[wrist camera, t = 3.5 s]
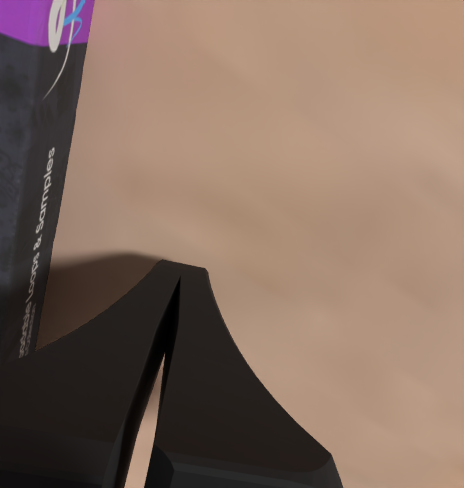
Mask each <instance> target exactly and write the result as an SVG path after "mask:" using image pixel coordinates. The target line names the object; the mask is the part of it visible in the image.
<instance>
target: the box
mask: <svg viewBox="0 0 464 488" xmlns="http://www.w3.org/2000/svg"><path fill="white" fill-rule="evenodd" d="M94 1H95V0H0V365H3V364H5V363H8V362H10V361H13V360H15V359H18V358H20V357H23V356H25V355H27V354H30V353H32V352H34V351H35V347H36V341H37V336H38V330H39V324H40V318H41V312H42V306H43V301H44V295H45V290H46V284H47V279H48V273H49V268H50V261H51V255H52V248H53V241H54V238H55V233H56V227H57V223H58V218H59V212H60V206H61V200H62V195H63V189H64V183H65V176H66V170H67V164H68V157H69V152H70V147H71V141H72V135H73V130H74V124H75V117H76V108H77V104H78V98H79V93H80V87H81V80H82V72H83V65H84V59H85V54H86V48H87V43H88V37H89V31H90V25H91V19H92V13H93V7H94Z"/></svg>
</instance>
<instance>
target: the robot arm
mask: <svg viewBox="0 0 464 488" xmlns="http://www.w3.org/2000/svg"><path fill="white" fill-rule="evenodd" d="M164 354H165V359H164V367H163V375H162V384H161V392H160V401H159V409H158V418H157V425H156V432H155V438H154V443H153V448H152V453H151V458H150V462H149V467H148V472H147V477H146V481H145V486H144V488H343V485H342V482H341V479H340V477H339V474H338V471H337V468H336V465H335V463H334V460H333V457H332V455H331V453H329V452H328V451H327V450H326V449H325V448H324V447H323V446H322V445H321V444H320V443H319V442H317V441H316V440H315V439H314V438H313V437H312V436H311V435H310V434H309V433H308V432H306V431H305V430H304V429H303V428H302V427H301V426H300V425H299V424H298V423H297V422H296V421H295V420H294V419H293V418H292V417H291V416H290V415H289V414H288V413H287V412H286V411H285V410H284V409H283V408H282V407H281V405H280V404H279V403H278V402H277V401H276V400H275V399H274V398H273V396H272V395H271V394H270V393H269V391H268V390H267V389H266V388H265V387H264V385H263V384H262V383H261V382H260V380H259V379H258V378H257V377H256V375H255V374H254V372H253V371H252V369H251V368H250V367H249V365H248V364H247V362H246V360H245V359H244V357H243V356H242V354H241V353H240V351H239V349H238V347H237V346H236V344H235V342H234V340H233V338H232V336H231V334H230V332H229V330H228V328H227V326H226V324H225V322H224V320H223V318H222V315H221V313H220V310H219V308H218V305H217V303H216V300H215V297H214V294H213V291H212V288H211V284H210V280H209V275H208V272H207V270H206V269H205V268H201V267H196V266H191V265H187V264H182V263H177V262H172V261H167V260H161V261H159V262H158V263H157V264H156V265H155V266H154V268H153V269H152V270H151V271H150V272H149V273H148V274H147V275H146V276H145V277H144V278H143V279H142V280H141V281H140V282H139V283H138V284H137V285H136V286H135V287H133V288H132V289H131V290H130V291H129V292H128V293H127V294H126V295H124V296H123V297H122V298H121V299H119V300H118V301H117V302H116V303H114V304H113V305H112V306H110V307H109V308H108V309H107V310H105V311H104V312H103V313H101V314H100V315H98V316H97V317H95V318H94V319H92V320H91V321H89V322H88V323H86V324H85V325H83V326H81V327H80V328H78V329H76V330H75V331H73V332H71V333H69V334H68V335H66V336H64V337H62V338H60V339H59V340H57V341H55V342H53V343H51V344H49V345H47V346H45V347H43V348H41V349H39V350H37V351H34V352H32V353H30V354H27V355H25V356H23V357H20V358H18V359H15V360H13V361H10V362H8V363H5V364H3V365H0V488H124V486H125V482H126V478H127V474H128V470H129V466H130V462H131V458H132V454H133V450H134V446H135V442H136V438H137V434H138V431H139V428H140V424H141V421H142V418H143V415H144V412H145V409H146V407H147V404H148V401H149V398H150V395H151V392H152V389H153V386H154V383H155V380H156V378H157V375H158V372H159V369H160V366H161V363H162V360H163V357H164Z"/></svg>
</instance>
